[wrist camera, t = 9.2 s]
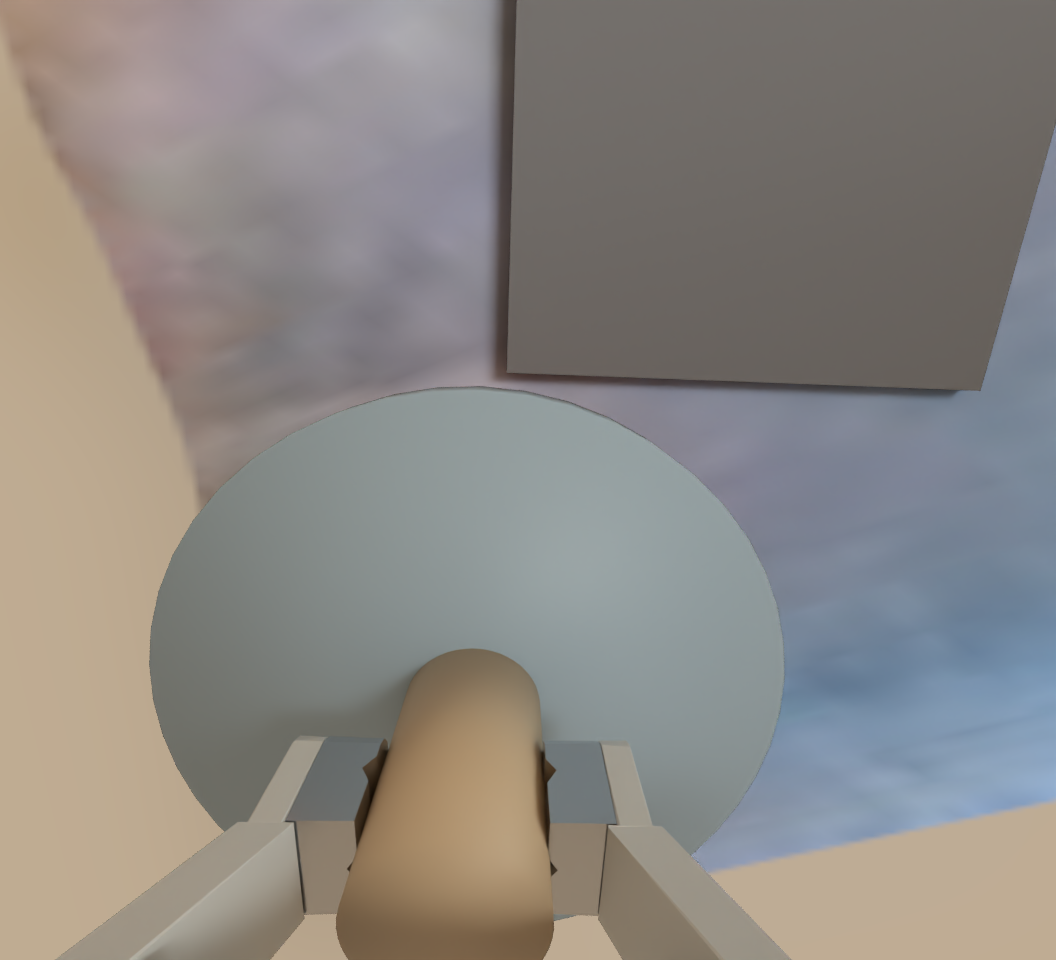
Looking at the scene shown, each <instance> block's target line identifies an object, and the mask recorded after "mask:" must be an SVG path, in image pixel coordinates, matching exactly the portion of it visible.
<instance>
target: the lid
mask: <svg viewBox="0 0 1056 960" xmlns="http://www.w3.org/2000/svg"><path fill="white" fill-rule="evenodd" d="M149 665H150V675H151V684H152V693H153V700H154V705H155V708H156V712H157V716H158V719H159V723H160V727H161V730H162V734H163V737H164V739H165V741H166V743H167V746H168V748H169V750H170V753H171V755H172V757H173V759H174V762H175V764H176V766H177V768H178V770H179V771H180V773H181V775H182V776H183V778H184V779H185V781H186V783H187V784H188V786H189V788H190V789H191V791H192V793H193V794H194V796H195V797H196V799H197V800H198V801H199V802H200V803H201V805H202V806H203V807H204V808H205V810H206V811H207V812H208V813H209V815H210V816H211V817H212V818H213V820H214V821H215V822H216V823H217V825H218V826H219V827H220V828H222V829H223V830H224V831H226V830H228V829H229V828H230V827H232V826H233V825H234V824H236V823H237V822H247V821H248V820H249V818H250V816H251V814H252V813H253V811H254V809H255V807H256V806H257V804H258V802H259V800H260V799H261V797H262V795H263V793H264V792H265V790H266V788H267V786H268V785H269V783H270V781H271V779H272V777H273V776H274V774H275V772H276V770H277V769H278V767H279V765H280V763H281V762H282V760H283V758H284V756H285V755H286V753H287V751H288V749H289V748H290V746H291V744H292V743H293V742H294V741H295V740H296V739H297V738H298V737H299V736H300V735H301V736H321V737H329V736H339V737H363V738H385V739H386V740H387V743H388V752H387V756H386V759H385V762H384V765H383V768H382V771H381V774H380V778H379V781H378V784H377V787H376V790H375V793H374V796H373V800H372V803H371V806H370V809H369V812H368V815H367V818H366V822H365V825H364V828H363V831H362V834H361V837H360V841H359V844H358V847H357V850H356V853H355V856H354V859H353V863H352V866H351V869H350V872H349V875H348V878H347V881H346V885H345V888H344V891H343V894H342V897H341V900H340V903H339V907H338V911H337V917H336V930H337V936H338V940H339V942H340V945H341V948H342V950H343V952H344V953H345V955H346V957H347V958H348V960H543V958H544V956H545V955H546V953H547V951H548V949H549V947H550V944H551V941H552V937H553V931H554V921H556V920H560V919H564V918H569V917H573V916H576V915H564V914H553V900H552V885H551V869H550V858H549V853H548V840H547V825H546V810H545V808H546V793H545V787H544V777H543V758H542V748H543V740H548V741H627V742H628V744H629V745H630V748H631V751H632V755H633V758H634V762H635V765H636V769H637V772H638V776H639V779H640V783H641V786H642V790H643V793H644V797H645V800H646V804H647V807H648V811H649V814H650V818H651V821H652V825H653V826H662V827H663V828H664V829H665V830H666V831H667V832H668V833H669V834H670V835H671V836H672V837H673V838H674V839H675V840H676V841H677V842H678V843H679V844H680V845H681V846H682V847H683V848H684V849H685V850H686V852H687V853H688V854H689V855H692V854H693V853H694V852H695V851H696V850H697V849H698V848H699V847H700V846H701V845H702V844H703V843H704V842H705V841H707V840H708V839H709V838H710V837H711V836H712V835H713V834H714V833H715V832H716V831H717V830H718V829H719V828H720V826H721V825H722V824H723V823H724V821H725V820H726V819H727V818H728V817H729V815H730V814H731V813H732V812H733V811H734V809H735V808H736V807H737V806H738V804H739V803H740V801H741V800H742V798H743V797H744V795H745V793H746V792H747V790H748V789H749V787H750V785H751V784H752V782H753V781H754V779H755V777H756V776H757V774H758V771H759V769H760V767H761V765H762V763H763V760H764V758H765V756H766V754H767V752H768V749H769V747H770V745H771V741H772V738H773V734H774V731H775V727H776V724H777V721H778V717H779V714H780V707H781V700H782V693H783V685H784V642H783V636H782V630H781V624H780V618H779V613H778V607H777V604H776V601H775V598H774V595H773V593H772V590H771V587H770V584H769V581H768V578H767V575H766V572H765V570H764V568H763V566H762V564H761V562H760V560H759V559H758V557H757V555H756V553H755V551H754V549H753V547H752V545H751V543H750V541H749V539H748V538H747V536H746V535H745V533H744V532H743V531H742V529H741V528H740V527H739V525H738V524H737V522H736V521H735V520H734V518H733V517H732V516H731V514H730V513H729V512H728V510H727V509H726V507H725V506H724V505H723V504H722V503H721V502H720V501H719V500H718V499H717V498H716V497H715V496H714V495H713V494H712V493H711V492H710V491H709V490H708V489H707V488H706V487H705V486H704V484H703V483H702V482H701V481H700V480H699V479H698V478H697V477H696V476H695V475H694V474H692V473H691V472H690V471H688V470H687V469H686V468H684V467H683V466H682V465H680V464H679V463H678V462H676V461H675V460H674V459H672V458H671V457H670V456H669V455H667V454H666V453H665V452H663V451H662V450H661V449H659V448H658V447H657V446H655V445H654V444H652V443H651V442H650V441H648V440H647V439H646V438H644V437H643V436H641V435H639V434H637V433H635V432H634V431H632V430H630V429H628V428H626V427H625V426H623V425H621V424H619V423H617V422H616V421H614V420H612V419H610V418H608V417H606V416H604V415H601V414H599V413H596V412H593V411H591V410H588V409H586V408H583V407H581V406H578V405H576V404H573V403H570V402H568V401H564V400H560V399H556V398H552V397H547V396H543V395H539V394H535V393H531V392H527V391H520V390H510V389H501V388H492V387H482V386H477V387H439V388H431V389H425V390H419V391H412V392H406V393H400V394H394V395H390V396H387V397H384V398H380V399H377V400H374V401H371V402H367V403H364V404H361V405H357V406H354V407H351V408H348V409H346V410H343V411H341V412H338V413H335V414H333V415H331V416H328V417H326V418H324V419H322V420H320V421H318V422H316V423H313V424H311V425H309V426H307V427H305V428H303V429H300V430H298V431H296V432H294V433H292V434H290V435H288V436H287V437H285V438H284V439H282V440H281V441H279V442H278V443H276V444H275V445H273V446H272V447H270V448H268V449H267V450H265V451H264V452H262V453H261V454H259V455H258V456H256V457H255V458H253V459H252V460H251V461H250V462H248V463H247V464H246V465H245V466H244V467H243V468H242V469H241V470H239V471H238V472H237V473H236V474H235V475H234V476H233V477H232V478H230V479H229V480H228V481H227V482H226V483H225V484H224V485H223V486H221V487H220V488H219V490H218V491H217V492H216V493H215V494H214V496H213V497H212V498H211V499H210V501H209V502H208V503H207V504H206V505H205V507H204V508H203V509H202V510H201V511H200V513H199V514H198V515H197V516H196V517H195V519H194V520H193V521H192V523H191V525H190V527H189V528H188V530H187V532H186V533H185V535H184V537H183V538H182V540H181V542H180V544H179V545H178V547H177V549H176V550H175V552H174V554H173V556H172V558H171V561H170V563H169V566H168V569H167V571H166V574H165V576H164V579H163V582H162V584H161V587H160V590H159V592H158V597H157V602H156V607H155V611H154V616H153V621H152V626H151V639H150V661H149Z"/></svg>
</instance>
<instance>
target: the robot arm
mask: <svg viewBox="0 0 1056 960" xmlns="http://www.w3.org/2000/svg"><path fill="white" fill-rule="evenodd" d="M387 752H388V743H387V740H386V739H385V738H363V737H339V736H329V737H321V736H301V735H300V736H299V737H298V738H297V739H296V740H295V741H294V742H293V743H292V744H291V746H290V748H289V749H288V751H287V753H286V755H285V756H284V758H283V760H282V762H281V763H280V765H279V767H278V769H277V770H276V772H275V774H274V776H273V777H272V779H271V781H270V783H269V785H268V786H267V788H266V790H265V792H264V793H263V795H262V797H261V799H260V800H259V802H258V804H257V806H256V807H255V809H254V811H253V813H252V814H251V816H250V818H249V820H248V821H247V822H237V823H236V824H234V825H233V826H232V827H230V828H229V829H228V830H226V831H225V832H224V833H222V834H221V835H220V836H219V837H217V838H216V839H214V840H213V841H212V842H211V843H209V844H208V845H207V846H205V847H204V848H203V849H201V850H200V851H199V852H198V853H196V854H195V855H193V856H192V857H191V858H189V859H188V860H187V861H185V862H184V863H183V864H181V865H180V866H179V867H177V868H176V869H175V870H173V871H172V872H171V873H169V874H168V875H167V876H165V877H164V878H163V879H161V880H160V881H159V882H158V883H156V884H155V885H154V886H152V887H151V888H150V889H148V890H147V891H146V892H144V893H143V894H142V895H140V896H139V897H138V898H136V899H135V900H134V901H132V902H131V903H130V904H128V905H127V906H126V907H124V908H123V909H122V910H120V911H119V912H118V913H116V914H115V915H114V916H113V917H111V918H110V919H108V920H107V921H106V922H105V923H103V924H102V925H101V926H99V927H98V928H97V929H95V930H94V931H93V932H91V933H90V934H89V935H87V936H86V937H85V938H83V939H82V940H81V941H79V942H78V943H77V944H76V945H74V946H73V947H71V948H70V949H69V950H67V951H66V952H65V953H63V954H62V955H61V956H60V957H58V958H57V959H56V960H270V959H271V958H272V957H273V956H274V954H275V953H276V952H277V951H278V950H279V948H280V947H281V946H282V945H283V944H284V942H285V941H286V940H287V939H288V938H289V937H290V935H291V934H292V933H293V932H294V931H295V929H296V928H297V927H298V925H300V923H301V922H302V921H303V920H304V915H307V914H337V911H338V907H339V903H340V900H341V897H342V894H343V891H344V888H345V885H346V881H347V878H348V875H349V872H350V869H351V866H352V863H353V859H354V856H355V853H356V850H357V847H358V844H359V841H360V837H361V834H362V831H363V828H364V825H365V822H366V818H367V815H368V812H369V809H370V806H371V803H372V800H373V796H374V793H375V790H376V787H377V784H378V781H379V778H380V774H381V771H382V768H383V765H384V762H385V759H386V756H387ZM542 758H543V777H544V787H545V793H546V808H545V810H546V825H547V840H548V853H549V858H550V869H551V885H552V900H553V914H564V915H593V916H599V917H598V920H599V921H600V923H601V925H602V926H603V927H604V929H605V931H606V933H607V934H608V936H609V938H610V939H611V941H612V943H613V944H614V946H615V948H616V949H617V951H618V953H619V954H620V956H621V958H622V959H623V960H791V959H790V958H789V957H788V956H787V955H786V953H785V952H784V951H783V950H782V949H781V948H780V947H779V946H778V945H777V944H776V943H775V942H774V941H773V940H772V939H771V938H770V937H769V936H768V935H767V934H766V933H765V932H764V931H763V930H762V929H761V928H760V927H759V926H758V925H757V924H756V923H755V922H754V921H753V920H752V919H751V917H749V915H748V914H746V912H745V911H744V910H743V909H742V908H741V907H740V906H739V905H738V904H737V903H736V902H735V901H734V900H733V899H732V898H731V897H730V896H729V895H728V894H727V893H726V892H725V891H724V890H723V889H722V888H721V887H720V886H719V885H718V883H717V882H716V881H715V880H714V879H713V878H712V877H711V876H710V875H709V874H708V873H707V872H706V871H705V870H704V869H703V868H702V867H701V866H700V865H699V864H698V863H697V862H696V861H695V860H694V859H693V858H692V857H691V856H690V855H689V854H688V853H687V852H686V850H685V849H684V848H683V847H682V846H681V845H680V844H679V843H678V842H677V841H676V840H675V839H674V838H673V837H672V836H671V835H670V834H669V833H668V832H667V831H666V830H665V829H664V828H663V827H662V826H653V825H652V821H651V818H650V814H649V811H648V807H647V804H646V800H645V797H644V793H643V790H642V786H641V783H640V779H639V776H638V772H637V769H636V765H635V762H634V758H633V755H632V751H631V748H630V745H629V744H628V742H627V741H548V740H543V748H542Z"/></svg>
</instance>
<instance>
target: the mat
mask: <svg viewBox="0 0 1056 960" xmlns="http://www.w3.org/2000/svg"><path fill="white" fill-rule="evenodd" d="M1055 124H1056V0H517V4H516V42H515V80H514V118H513V156H512V194H511V232H510V270H509V308H508V346H507V373H527V374H554V375H580V376H606V377H633V378H659V379H685V380H712V381H738V382H764V383H790V384H817V385H843V386H869V387H896V388H922V389H948V390H975V391H980V390H981V387H982V383H983V380H984V376H985V373H986V369H987V366H988V362H989V358H990V355H991V351H992V348H993V344H994V341H995V337H996V334H997V330H998V327H999V323H1000V319H1001V316H1002V312H1003V309H1004V305H1005V302H1006V298H1007V295H1008V291H1009V287H1010V284H1011V280H1012V277H1013V273H1014V270H1015V266H1016V263H1017V259H1018V256H1019V252H1020V248H1021V245H1022V241H1023V238H1024V234H1025V231H1026V227H1027V224H1028V220H1029V217H1030V213H1031V209H1032V206H1033V202H1034V199H1035V195H1036V192H1037V188H1038V185H1039V181H1040V177H1041V174H1042V170H1043V167H1044V163H1045V160H1046V156H1047V153H1048V149H1049V146H1050V142H1051V138H1052V135H1053V131H1054V128H1055Z"/></svg>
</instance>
